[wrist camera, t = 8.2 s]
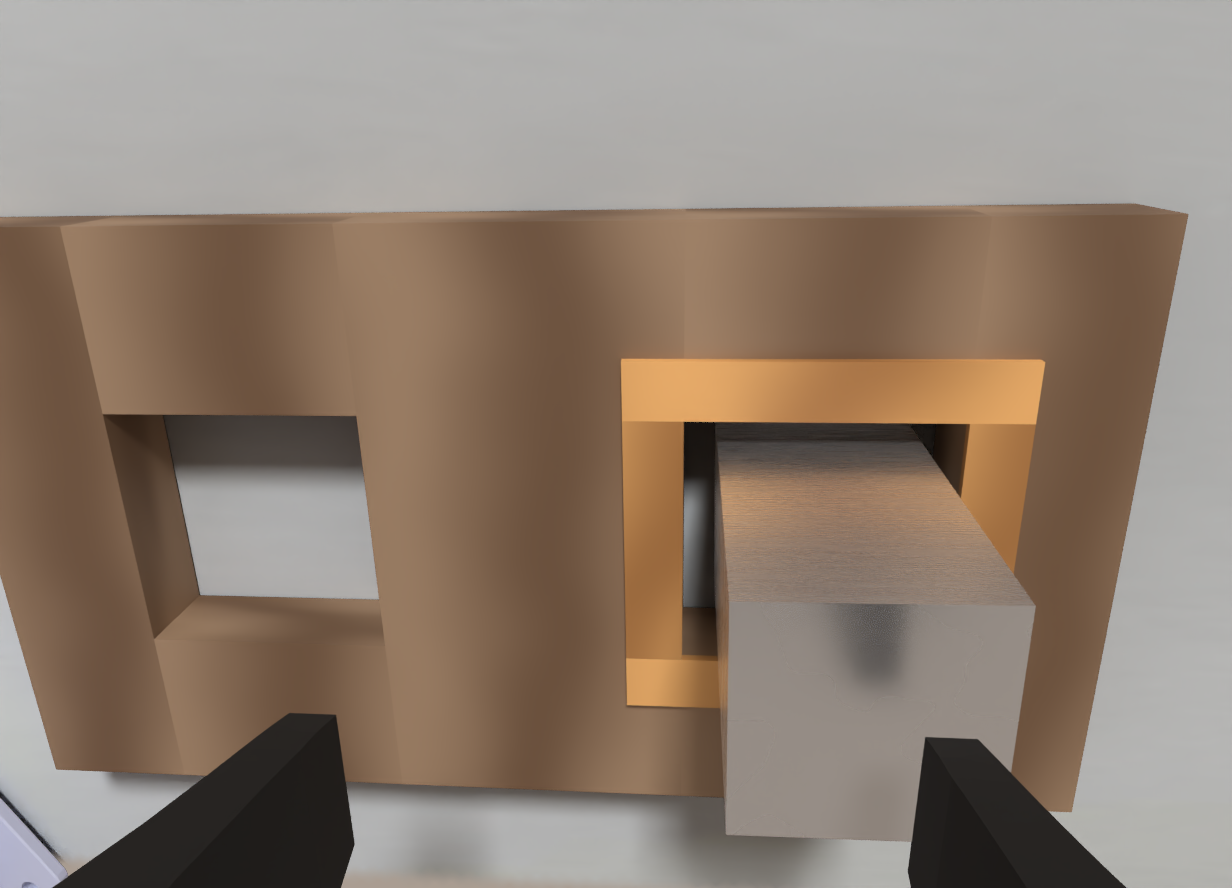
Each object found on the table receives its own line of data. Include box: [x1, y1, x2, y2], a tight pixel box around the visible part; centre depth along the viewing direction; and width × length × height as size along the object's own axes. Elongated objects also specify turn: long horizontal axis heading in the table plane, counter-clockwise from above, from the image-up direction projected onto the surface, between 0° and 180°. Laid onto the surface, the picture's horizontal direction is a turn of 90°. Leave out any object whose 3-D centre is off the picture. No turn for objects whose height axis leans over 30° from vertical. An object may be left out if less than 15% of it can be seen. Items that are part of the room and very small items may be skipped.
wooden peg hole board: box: [0, 204, 1188, 812], centre depth 20 cm, size 24×13×2 cm, turn 91°
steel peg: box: [714, 422, 1036, 842], centre depth 16 cm, size 4×4×8 cm
